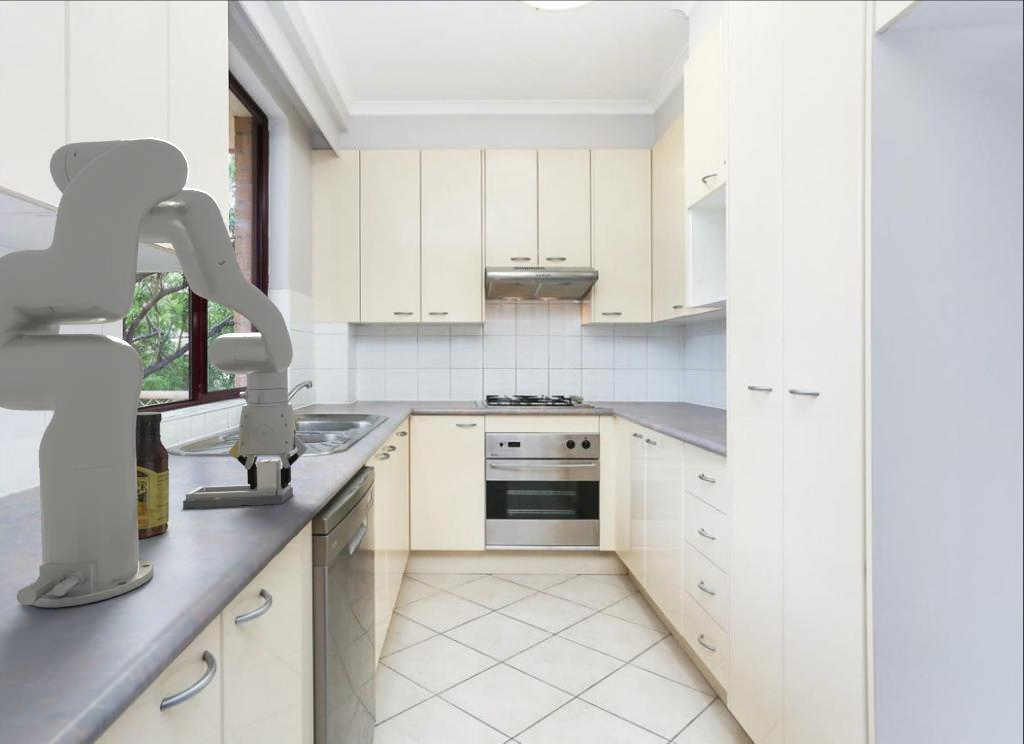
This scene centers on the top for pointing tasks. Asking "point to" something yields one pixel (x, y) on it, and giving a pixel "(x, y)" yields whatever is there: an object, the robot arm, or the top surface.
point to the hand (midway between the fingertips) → (269, 486)
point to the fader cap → (269, 475)
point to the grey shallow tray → (234, 496)
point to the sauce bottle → (151, 476)
